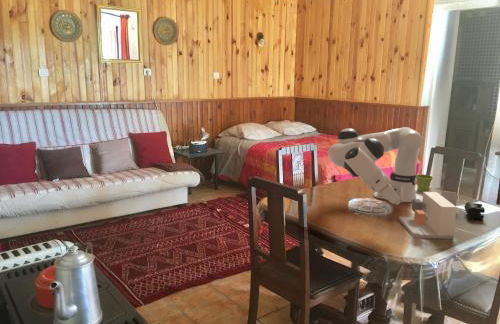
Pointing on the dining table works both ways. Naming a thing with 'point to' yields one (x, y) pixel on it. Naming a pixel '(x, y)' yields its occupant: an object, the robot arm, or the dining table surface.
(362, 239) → the dining table surface
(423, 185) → the plant pot
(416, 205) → the grey plug
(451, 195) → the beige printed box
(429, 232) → the plug console
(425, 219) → the orange thick block
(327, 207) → the dining table surface
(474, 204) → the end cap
